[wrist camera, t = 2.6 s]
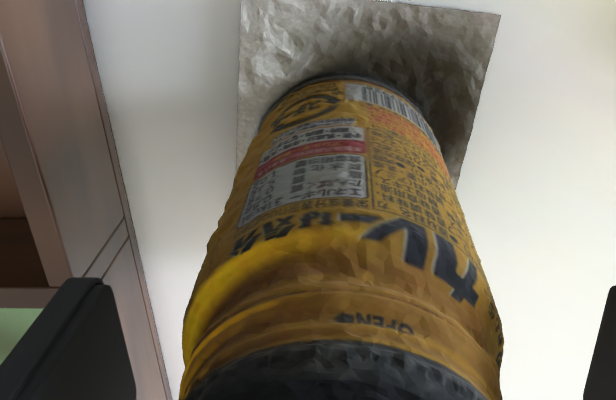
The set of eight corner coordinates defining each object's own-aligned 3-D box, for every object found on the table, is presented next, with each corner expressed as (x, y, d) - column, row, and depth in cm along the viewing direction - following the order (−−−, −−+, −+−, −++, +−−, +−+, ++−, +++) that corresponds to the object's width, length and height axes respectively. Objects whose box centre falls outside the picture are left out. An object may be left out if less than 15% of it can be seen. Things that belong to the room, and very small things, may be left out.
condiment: (234, 235, 20) (110, 615, 9) (242, -16, 16) (39, 163, 5) (437, 257, 20) (540, 665, 9) (498, 12, 16) (804, 246, 5)
